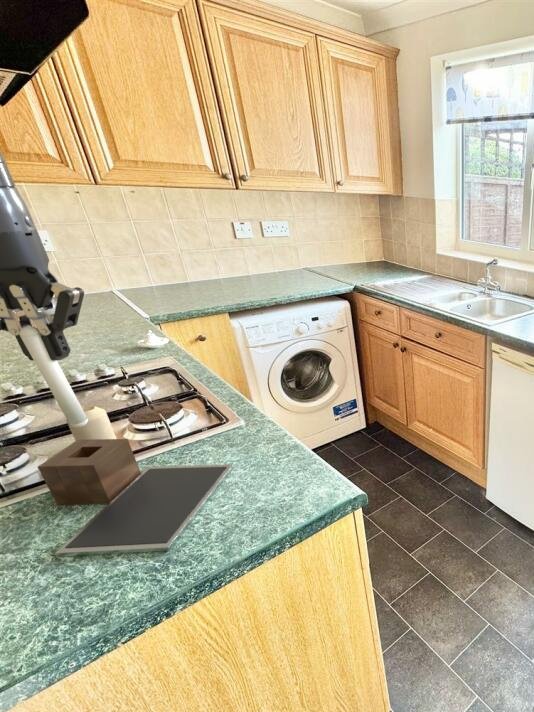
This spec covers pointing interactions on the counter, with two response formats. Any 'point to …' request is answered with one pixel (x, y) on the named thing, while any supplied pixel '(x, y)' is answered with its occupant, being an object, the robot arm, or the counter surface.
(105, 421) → the candle
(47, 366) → the white rod
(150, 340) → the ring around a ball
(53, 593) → the counter surface
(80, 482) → the stand
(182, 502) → the tablet
